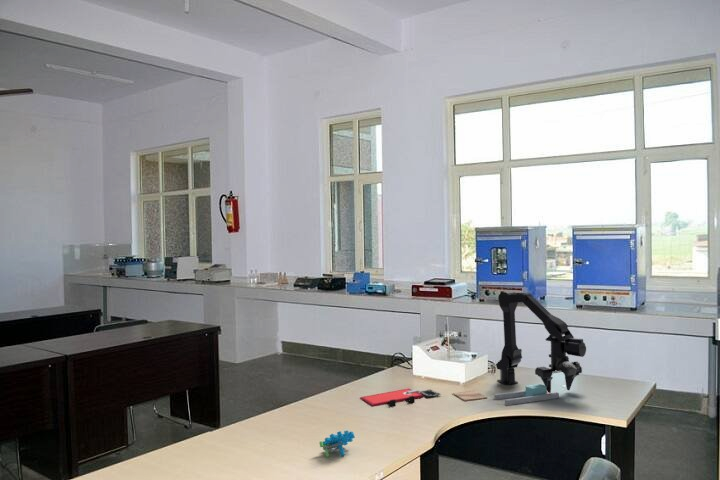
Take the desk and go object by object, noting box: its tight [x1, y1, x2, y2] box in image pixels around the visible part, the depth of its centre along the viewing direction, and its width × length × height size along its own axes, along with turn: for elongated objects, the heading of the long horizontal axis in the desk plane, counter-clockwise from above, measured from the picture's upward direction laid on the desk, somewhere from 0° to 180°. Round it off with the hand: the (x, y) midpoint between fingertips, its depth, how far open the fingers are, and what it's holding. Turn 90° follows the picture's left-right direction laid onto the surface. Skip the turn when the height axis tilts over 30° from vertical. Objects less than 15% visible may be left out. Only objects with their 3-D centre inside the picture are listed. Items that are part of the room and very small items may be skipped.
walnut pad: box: [452, 389, 488, 402], centre depth 220 cm, size 10×10×1 cm
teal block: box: [525, 383, 548, 397], centre depth 217 cm, size 4×7×4 cm, turn 113°
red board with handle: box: [360, 388, 442, 407], centre depth 220 cm, size 30×3×15 cm
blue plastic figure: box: [319, 430, 355, 458], centre depth 166 cm, size 11×6×10 cm
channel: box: [493, 389, 560, 406], centre depth 215 cm, size 8×24×2 cm, turn 109°
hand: (558, 391), depth 220 cm, fingers open, 9 cm apart
